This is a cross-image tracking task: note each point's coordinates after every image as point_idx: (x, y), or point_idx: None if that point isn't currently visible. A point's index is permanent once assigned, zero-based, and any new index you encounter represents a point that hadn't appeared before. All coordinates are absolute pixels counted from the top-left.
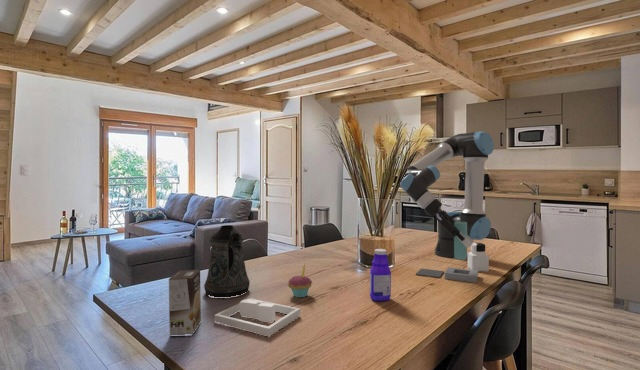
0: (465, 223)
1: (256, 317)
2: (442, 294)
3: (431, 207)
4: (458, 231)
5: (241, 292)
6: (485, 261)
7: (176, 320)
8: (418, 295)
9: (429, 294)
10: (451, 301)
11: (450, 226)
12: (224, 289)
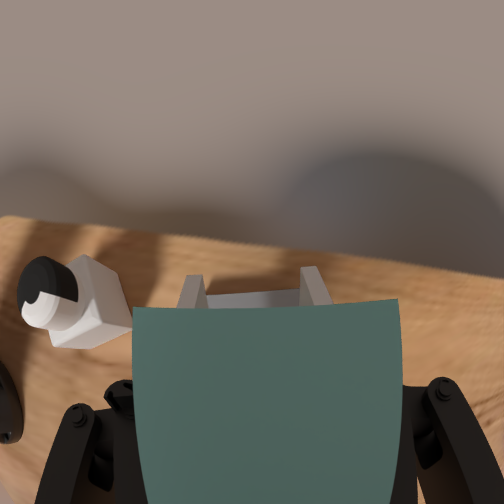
0: (341, 309)
1: None
2: (460, 347)
3: None
4: (402, 388)
5: None
6: (100, 273)
7: None
8: (485, 389)
9: (472, 373)
10: (484, 307)
11: (484, 462)
12: None
